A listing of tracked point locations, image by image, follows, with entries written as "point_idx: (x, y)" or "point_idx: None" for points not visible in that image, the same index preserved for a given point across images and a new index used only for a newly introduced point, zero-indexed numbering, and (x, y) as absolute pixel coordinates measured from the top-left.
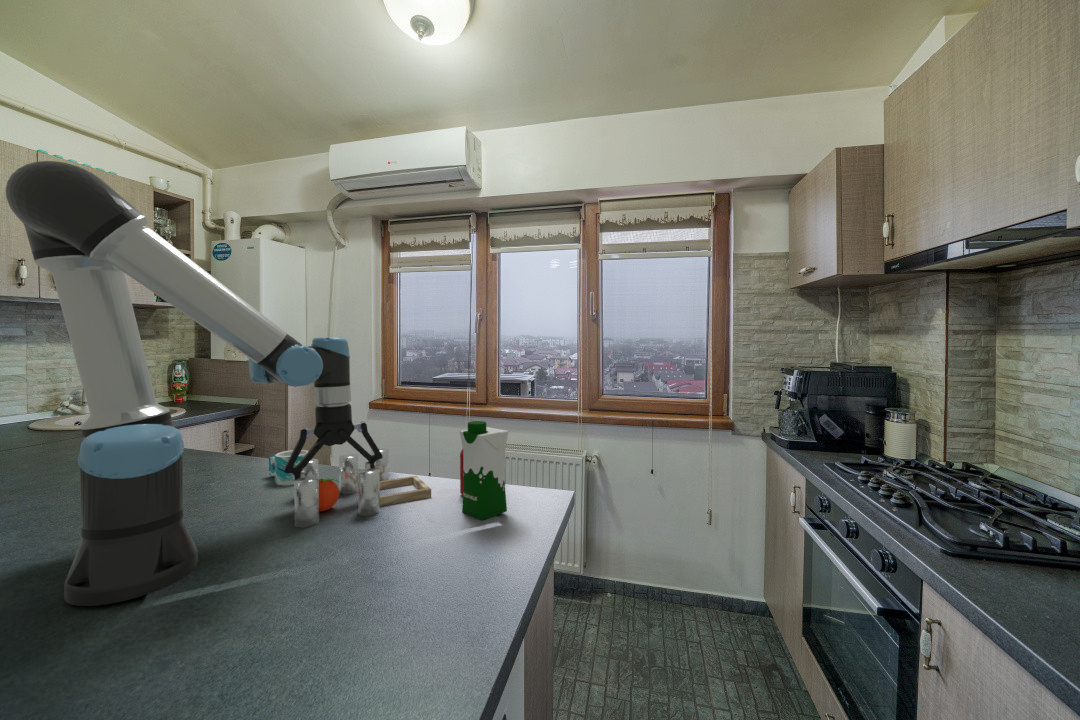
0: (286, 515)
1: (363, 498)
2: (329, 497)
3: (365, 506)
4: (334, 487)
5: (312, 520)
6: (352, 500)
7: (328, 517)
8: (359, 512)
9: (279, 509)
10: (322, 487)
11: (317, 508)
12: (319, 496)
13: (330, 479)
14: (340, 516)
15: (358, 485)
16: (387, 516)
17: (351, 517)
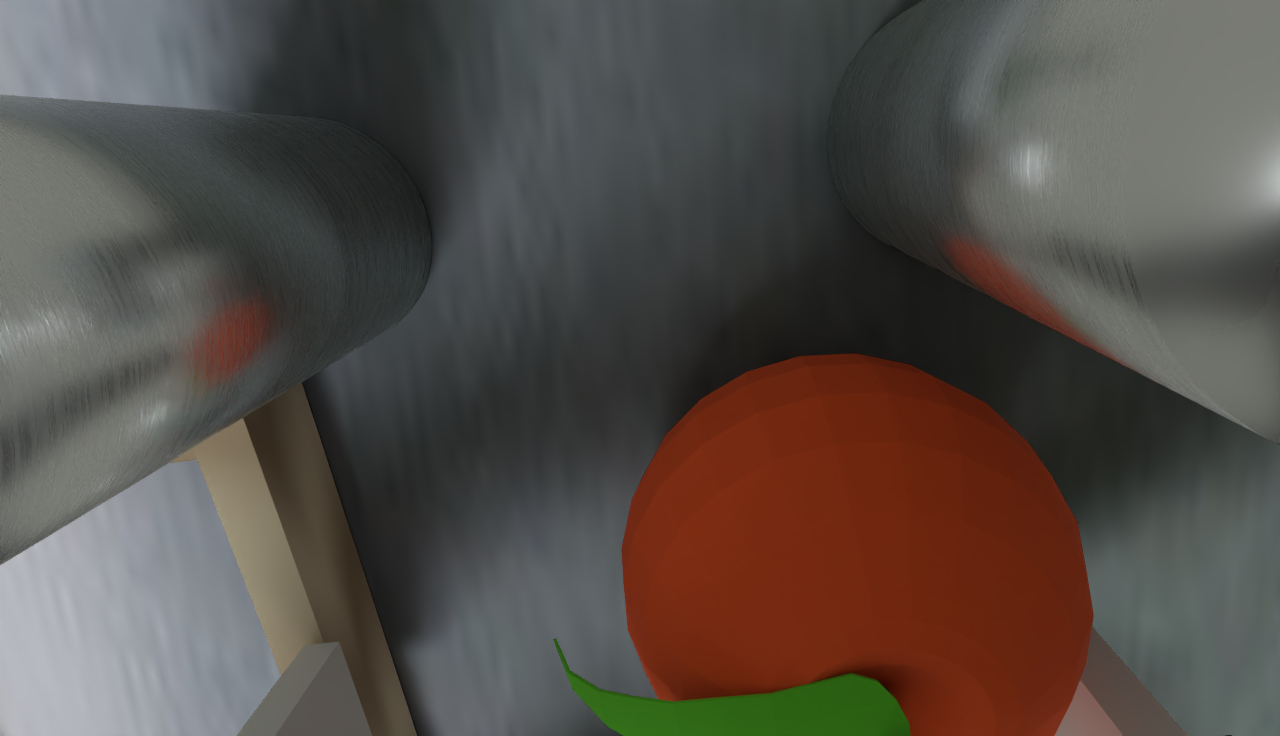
0: (1148, 469)
1: (237, 127)
2: (735, 394)
3: (280, 117)
4: (670, 548)
5: (915, 4)
6: (530, 640)
7: (732, 236)
8: (399, 178)
9: (1199, 662)
10: (864, 501)
11: (889, 60)
12: (880, 390)
13: (741, 734)
14: (609, 217)
15: (194, 243)
16: (97, 7)
17: (489, 135)
